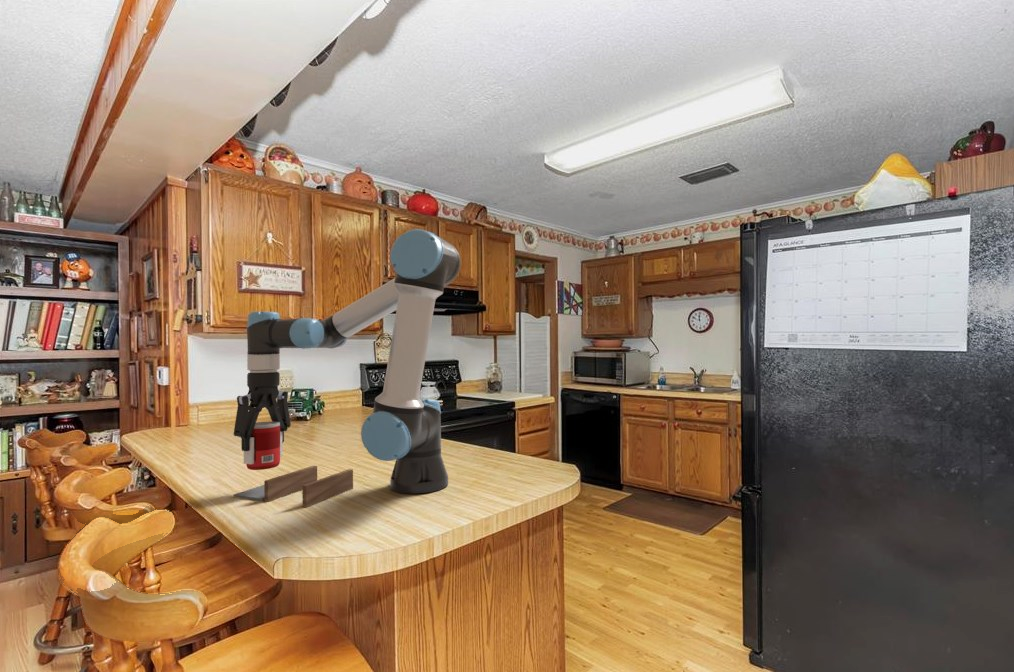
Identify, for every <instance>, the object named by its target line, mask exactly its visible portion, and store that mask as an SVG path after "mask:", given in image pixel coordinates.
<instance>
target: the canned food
mask: <svg viewBox="0 0 1014 672" xmlns="http://www.w3.org/2000/svg"><path fill="white" fill-rule="evenodd" d="M251 437H254V464H245V465H246V468H247V469H248V470H251V471H261V470H269V469H270V470H271V469H273V468H277V467H278V466H279V465H280V463H281V457H280V422H274V421H272V420H270V421H259V422H258V421H256V424H255V426H254V429H253V432H252V435H251Z"/></svg>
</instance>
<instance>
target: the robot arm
mask: <svg viewBox="0 0 1014 672" xmlns="http://www.w3.org/2000/svg"><path fill="white" fill-rule="evenodd" d="M389 257H390V258H389V259H390V263H391V266H392V268H393V270H394V271H395V276H394V278H393V279H391V280H389V281H387V282H385V283H384V284H383V285H381V286H379V287H377V288H376V289H374V290H372V291H370V292H369V293H367V294H366V295H364V296H362V297H361V298H359V299H357V300H355V301H354V302H352V303H350V304H349V305H347V306H345V307H343V308H342V309H340V310H338V311H337V312H335V313H334V314H333V315H330V316H328V317H327V318H326V319H323V320H320V319H319V320H318V319H316V318H310V317H307V318H306V317H300V318H286V319H285V318H284V319H282V318H281V317H280V314H279V312H277V311H260V310H259V311H251V312H249V314H248V316H247V324H246V337H247V353H246V354H247V356H246V357H247V359H246V361H247V363H246V364H247V365H246V367H247V371H248V373H247V376H246V378H247V379H246V382H247V383H246V385H247V387H248V392H247V394H244V395H238V396H237V397H236V403H237V409H236V416H235V422H234V429H233V436H234V437H238V438H241V443H240V444H241V451H242V452H243V464H245V465H246V464H254V437H251V435H252V432H253V429H254V426H255V424H256V423H257V422H258V421H257V420H258V417H259V416H260V413H261V412H262V410H263V409H264V408H265V409H266V410H267V412H268V415H269V417H270V419H271V420H270V421H274V422H280V458H281V457H283V444H284V442H285V432H287V431H288V428H290V427H291V425H292V424H291V417H290V411H289V410H290V409H289V404H288V396H289V392H288V391H283V390H280V391H279V388H278V387H279V386H280V380H281V379H280V377H281V375H280V372H279V371H278V370H280V368H281V367H280V362H281V360H280V358H281V357H280V350H281V349H301V350H302V349H303V350H304V349H305V350H306V349H319V348H320V349H335V348H339V347H342V346H345V344H346V343H347V341H348V339H349V338H350V337H352V336H353V335H356V334H357V333H359V332H360V331H362V330H364V329H366V328H367V327H369V326H372V325H373V324H374V323H376V322H378V321H380V320H381V319H383V318H385V317H387V316H389V315H390V314H391V313H394V312H395V319H394V324H393V329H392V336H391V343H390V347H389V348H390V349H389V352H388V360H387V365H386V366H387V367H386V371H385V377H384V383H383V389H382V392H381V393H380V394H379V395H377V396H376V397H375V398H374V402H373V403H374V404H373V409H372V410H373V411H372V413H371V414H370V415H368V417H367V418H366V419H365V420H364V421H363V423H362V426H361V429H360V430H361V431H360V437H361V441H362V444H363V447H364V448H365V449H366V450H367V452H368V453H369V455H371V457H373V458H375V459H376V460H378V461H379V460H380V461H382V462H391V461H395V462H394V466H393V470H392V472H391V475H390V484H389V485H390V486H389V487H390V490H392V491H393V492H395V493H400V494H410V495H411V494H416V495H417V494H427V493H433V492H436V491H440V490H443V489H445V488H446V487H448V485H449V475H448V472H447V469H446V466H445V462H444V460H443V457H442V431H441V429H442V423H441V422H442V419H441V415H442V411H441V402H440V401H439V400H437V399H433V398H431V399H429V398H426V399H425V398H420V394H421V389H422V388H421V387H422V383H423V382H422V381H423V377H424V376H423V375H424V370H425V364H426V358H427V351H428V347H429V346H428V345H429V340H430V333H431V328H432V322H433V316H434V310H435V303H436V300H437V299H438V297H440V296H442V295H443V294H444V291H445V287H448V285H450V284H451V283H452V282H454V281H455V280H456V278H457V277H458V275H459V273H460V271H461V265H462V262H461V257H460V253H459V251H458V250H457V248H456V247H455V246H454V245H453V244H452V243H450V242H449V241H447V240H445V239H443V238H441V237H439V236H438V235H437V234H436V233H434V232H432V231H428V230H425V229H419V228H415V229H414V228H413V229H409V230H408V231H405V232H404V233H402V234H401V235H400V236H398V237H397V239H395V241H394V242H393V244H392V247H391V249H390V256H389Z"/></svg>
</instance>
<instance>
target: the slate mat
mask: <svg viewBox="0 0 1014 672" xmlns="http://www.w3.org/2000/svg"><path fill="white" fill-rule="evenodd" d="M232 497H233V498H237V497H239V498H240V499H245V500H252V501H253V500H254V501H259V502H265V493H264V484H263V485H260V486H256V487H252V488H250V489H246V490H244V491H241V492H236V493H234V494H233V495H232Z"/></svg>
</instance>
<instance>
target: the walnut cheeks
mask: <svg viewBox="0 0 1014 672" xmlns="http://www.w3.org/2000/svg"><path fill="white" fill-rule="evenodd" d="M263 485H264V493H265V500H264V502H266V503H267V502H268V503H269V502H271V501H275V500H278V499H280V497H281V498H283V497H286V496H289V495H292V494H295V493H297V492H299V491H301V493H302V496H301V497H302V508H308V507H311V506H313V505H317V504H319V503H321V502H323V501H326V500H329V499H331V498H333V496H334V497H336V496H338V494H339V495H341V494H344V493H345V491H346V492H348V490H349V491H351V490H353V489H354V469H350V468H349V469H345V470H343V471H339V472H337V473H335V474H332V475H329V476H325V477H322V478H320V479H318V466H317V465H311V466H307V467H305V468H302V469H298V470H295V471H292V472H288V473H285V474H282V475H279V476H276V477H275V476H274V477H272V478H270V479H265V480H264V483H263ZM343 492H344V493H343ZM291 493H292V494H291ZM340 493H341V494H340ZM335 495H336V496H335ZM330 497H331V498H330ZM328 498H329V499H328Z"/></svg>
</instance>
